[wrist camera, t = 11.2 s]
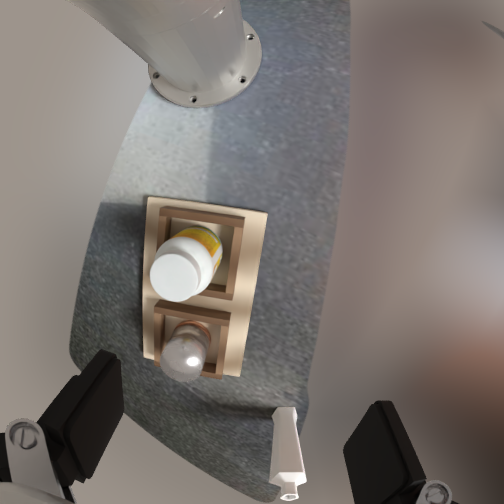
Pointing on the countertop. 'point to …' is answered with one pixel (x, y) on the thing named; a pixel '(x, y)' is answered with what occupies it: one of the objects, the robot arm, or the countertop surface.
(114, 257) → the countertop surface
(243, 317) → the socket board
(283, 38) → the countertop surface
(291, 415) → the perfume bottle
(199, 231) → the supplement bottle
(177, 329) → the silver cylinder
